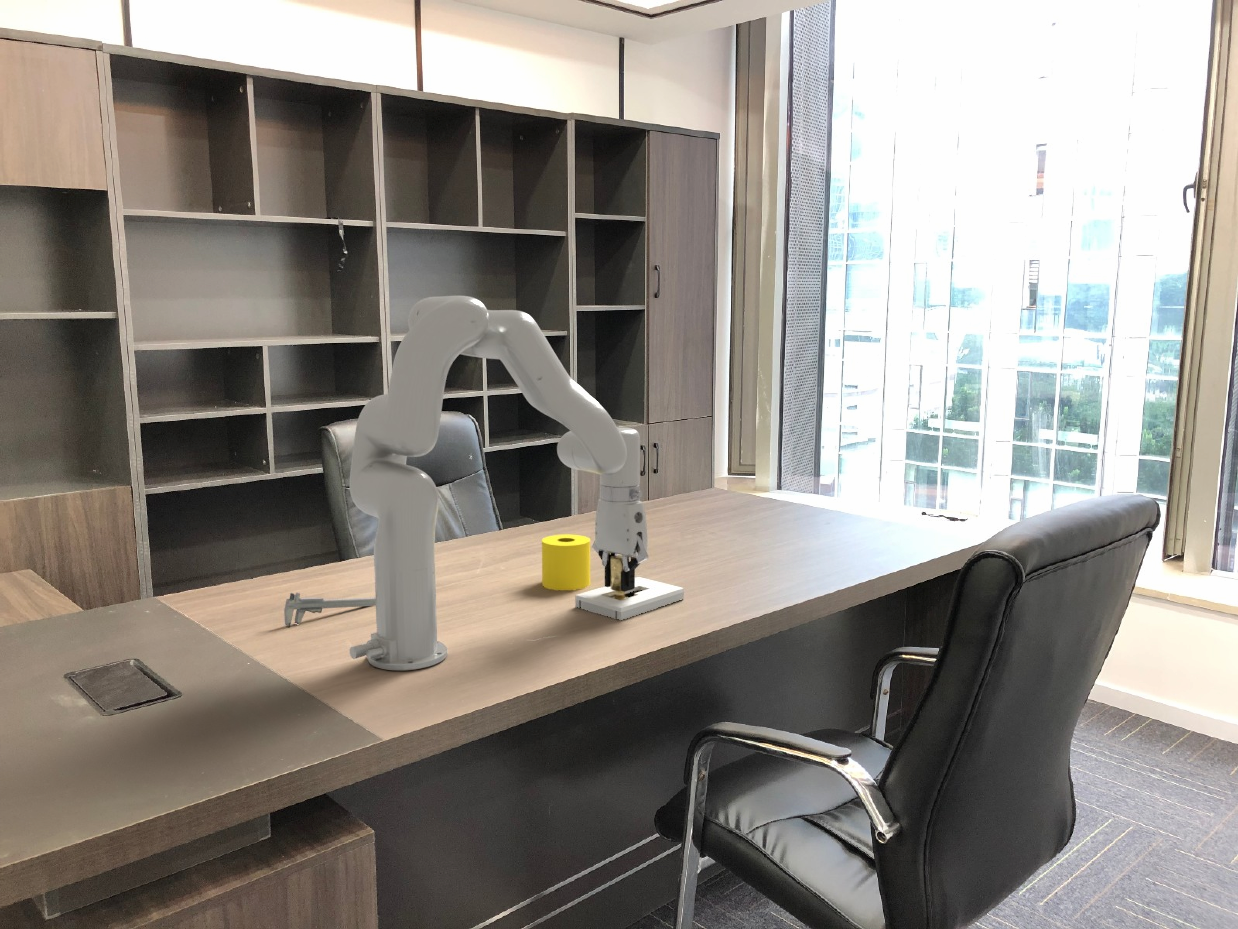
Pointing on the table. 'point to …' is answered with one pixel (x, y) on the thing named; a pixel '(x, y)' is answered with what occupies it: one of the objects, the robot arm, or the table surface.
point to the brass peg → (616, 576)
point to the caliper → (319, 605)
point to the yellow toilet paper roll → (565, 562)
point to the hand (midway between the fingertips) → (619, 586)
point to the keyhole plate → (629, 599)
